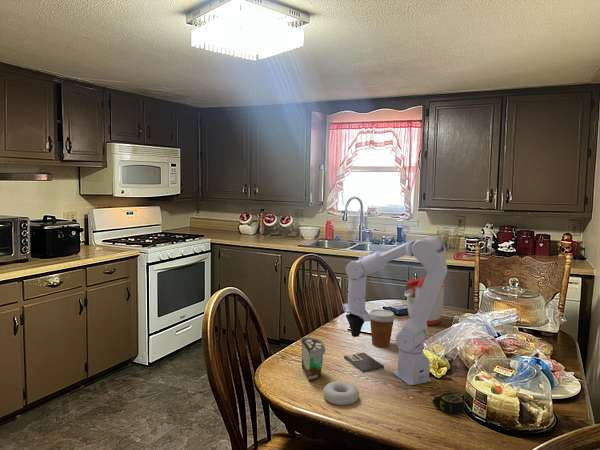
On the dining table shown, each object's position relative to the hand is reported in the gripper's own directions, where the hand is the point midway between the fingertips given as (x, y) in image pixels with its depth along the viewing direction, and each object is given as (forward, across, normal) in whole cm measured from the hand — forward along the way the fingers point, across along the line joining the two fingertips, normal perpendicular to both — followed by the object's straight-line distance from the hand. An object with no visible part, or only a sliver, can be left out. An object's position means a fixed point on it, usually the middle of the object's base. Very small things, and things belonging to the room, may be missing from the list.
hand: (355, 336), depth 151 cm
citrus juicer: (+9, -25, +48) cm, 55 cm away
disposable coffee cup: (+9, -9, +16) cm, 21 cm away
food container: (+9, +4, -17) cm, 20 cm away
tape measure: (+9, +37, +7) cm, 39 cm away
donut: (+9, +21, -17) cm, 28 cm away
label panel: (+8, +3, +2) cm, 9 cm away
